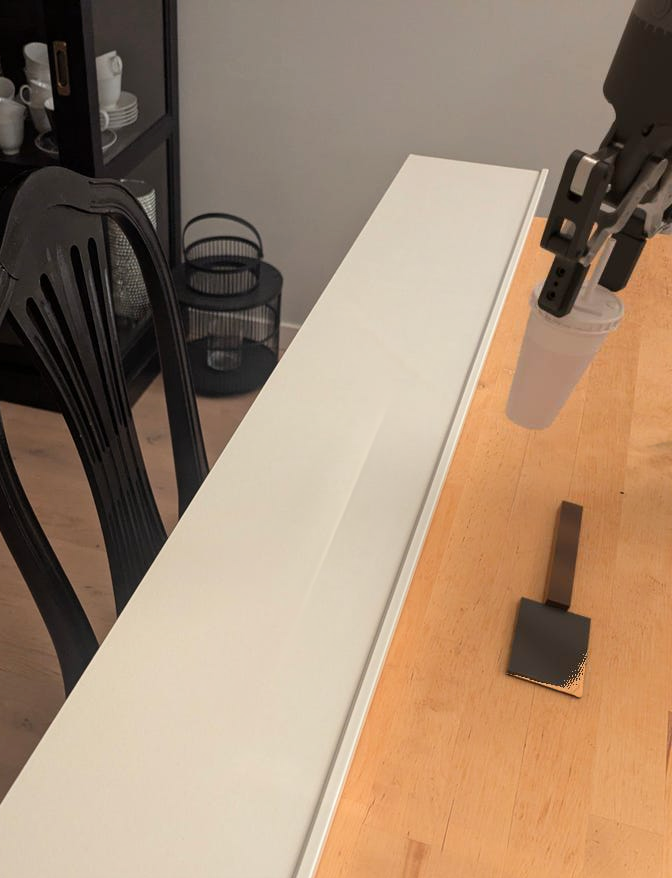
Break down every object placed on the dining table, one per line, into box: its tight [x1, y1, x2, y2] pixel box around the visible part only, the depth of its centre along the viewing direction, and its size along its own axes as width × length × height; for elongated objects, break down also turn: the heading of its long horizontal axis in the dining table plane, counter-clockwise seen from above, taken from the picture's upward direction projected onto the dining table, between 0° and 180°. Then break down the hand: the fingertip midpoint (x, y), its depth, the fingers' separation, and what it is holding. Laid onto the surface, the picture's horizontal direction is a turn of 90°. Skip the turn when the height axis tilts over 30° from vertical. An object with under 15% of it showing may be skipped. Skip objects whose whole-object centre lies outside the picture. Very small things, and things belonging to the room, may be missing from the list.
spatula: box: [505, 499, 592, 689], centre depth 80 cm, size 24×6×1 cm, turn 159°
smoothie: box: [504, 237, 626, 431], centre depth 65 cm, size 6×6×14 cm
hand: (580, 298), depth 63 cm, fingers closed on smoothie, 6 cm apart
